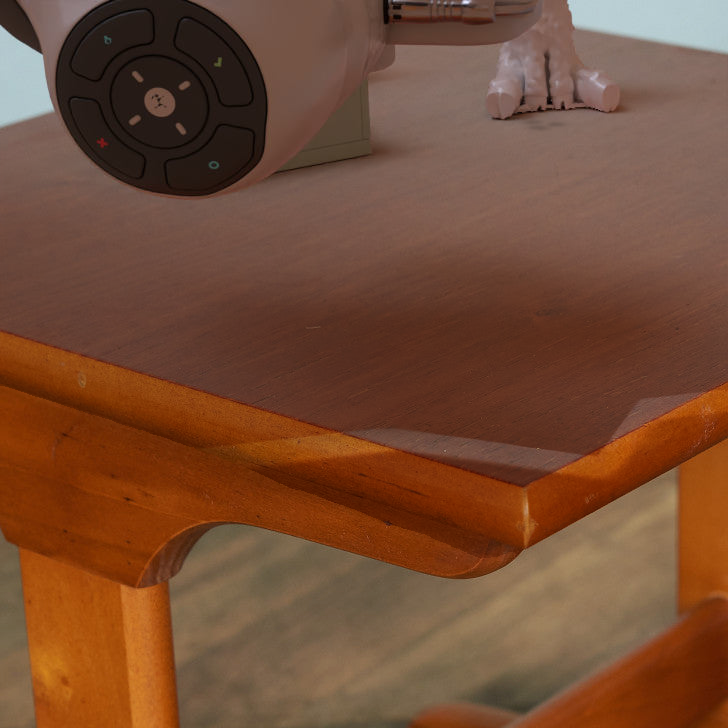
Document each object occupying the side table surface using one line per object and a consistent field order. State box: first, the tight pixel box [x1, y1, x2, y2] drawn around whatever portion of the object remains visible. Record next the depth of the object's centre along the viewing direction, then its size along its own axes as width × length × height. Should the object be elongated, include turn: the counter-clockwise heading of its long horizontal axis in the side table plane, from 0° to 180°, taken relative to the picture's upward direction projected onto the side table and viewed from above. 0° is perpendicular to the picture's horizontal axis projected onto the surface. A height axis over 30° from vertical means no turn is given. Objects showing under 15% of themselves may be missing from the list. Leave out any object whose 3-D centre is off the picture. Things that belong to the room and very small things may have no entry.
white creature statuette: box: [485, 0, 621, 120], centre depth 115 cm, size 10×9×12 cm
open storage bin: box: [274, 76, 372, 173], centre depth 107 cm, size 13×13×5 cm
